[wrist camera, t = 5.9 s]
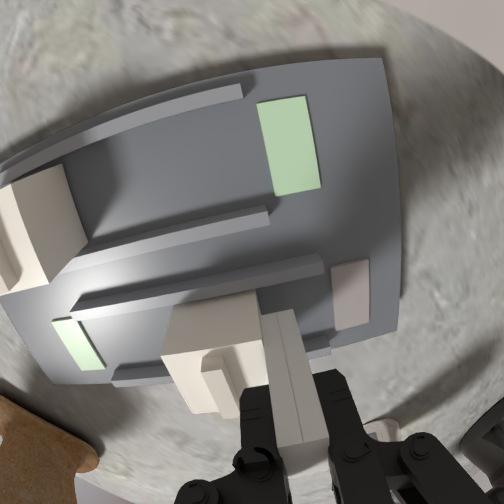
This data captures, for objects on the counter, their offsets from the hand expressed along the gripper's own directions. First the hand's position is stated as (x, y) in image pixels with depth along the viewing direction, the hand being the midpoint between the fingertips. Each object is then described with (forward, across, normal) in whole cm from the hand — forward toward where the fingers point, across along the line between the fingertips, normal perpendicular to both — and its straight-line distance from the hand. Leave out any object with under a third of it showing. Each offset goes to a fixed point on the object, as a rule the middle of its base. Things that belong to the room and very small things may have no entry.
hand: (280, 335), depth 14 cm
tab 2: (+2, +3, 0) cm, 3 cm away
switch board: (+4, +5, -4) cm, 8 cm away
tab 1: (+2, +10, -8) cm, 13 cm away
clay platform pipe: (+4, +27, +12) cm, 30 cm away
